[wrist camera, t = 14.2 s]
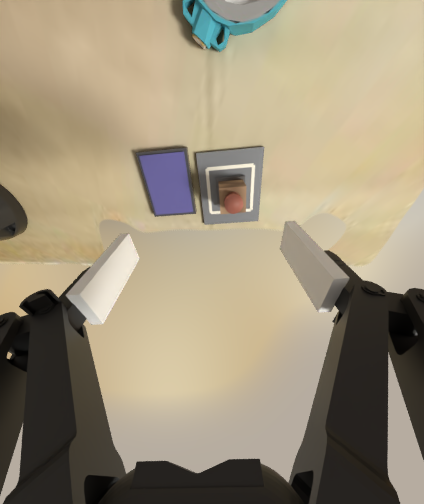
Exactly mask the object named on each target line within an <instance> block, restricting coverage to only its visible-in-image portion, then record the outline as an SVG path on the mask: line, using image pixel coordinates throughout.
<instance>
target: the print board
mask: <svg viewBox="0 0 424 504" xmlns="http://www.w3.org/2000/svg"><path fill="white" fill-rule="evenodd" d="M263 156H264V147H254V148H244V149H234V150H223V151H213V152H202V153H196V158H197V166H198V174H199V183H200V191H201V199H202V208H203V216H204V224H205V225H206V224H221V223H235V222H250V221H258V217H259V205H260V193H261V180H262V168H263ZM240 175H245V184H246V212H244V213H236V214H221V213H220V207H218V205H217V191H216V178H219V177H229V176H240Z"/></svg>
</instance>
